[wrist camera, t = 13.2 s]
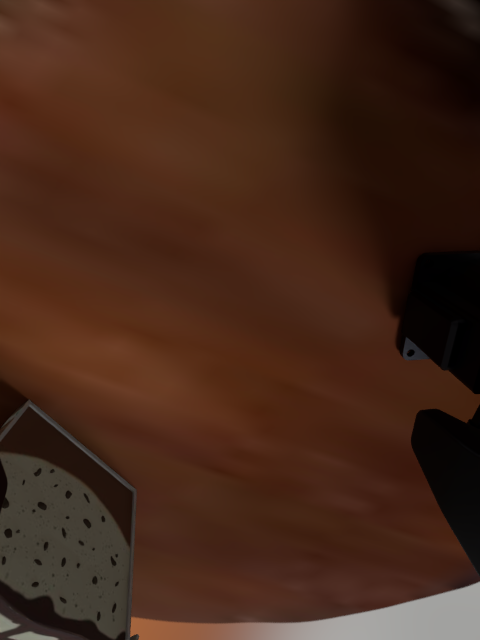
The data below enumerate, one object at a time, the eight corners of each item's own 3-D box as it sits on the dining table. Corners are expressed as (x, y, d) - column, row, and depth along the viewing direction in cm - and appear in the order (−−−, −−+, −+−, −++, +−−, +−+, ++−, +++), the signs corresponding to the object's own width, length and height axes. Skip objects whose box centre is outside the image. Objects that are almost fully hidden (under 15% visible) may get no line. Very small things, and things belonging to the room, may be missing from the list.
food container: (-74, 437, 22) (-246, 640, 13) (7, 381, 22) (-118, 557, 13) (80, 544, 28) (30, 741, 19) (151, 502, 27) (134, 687, 18)
